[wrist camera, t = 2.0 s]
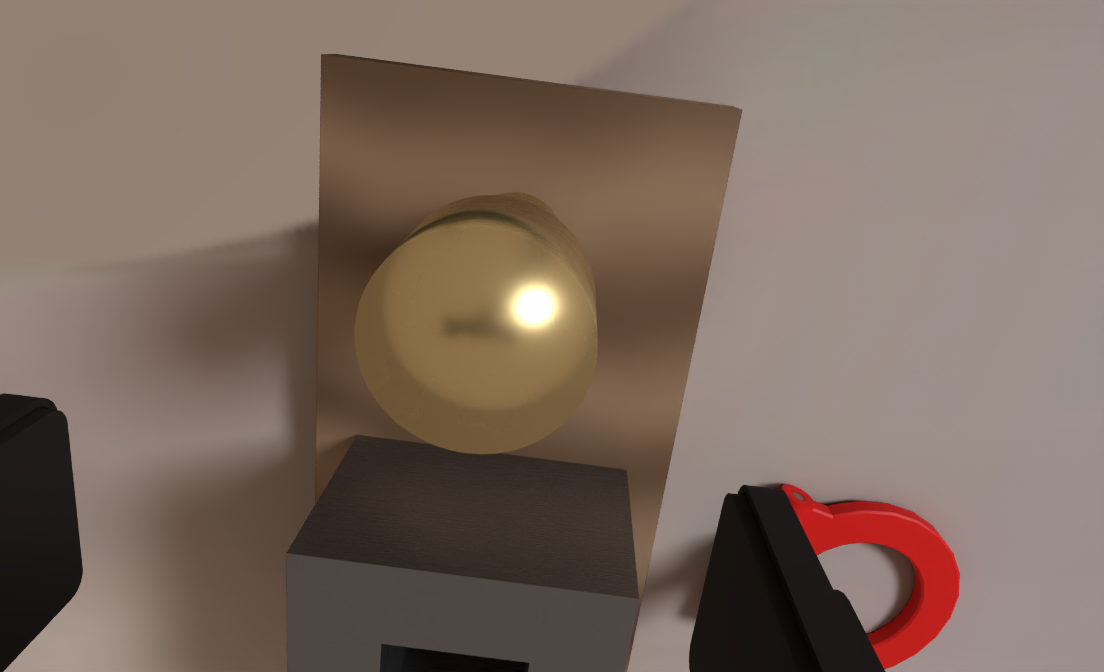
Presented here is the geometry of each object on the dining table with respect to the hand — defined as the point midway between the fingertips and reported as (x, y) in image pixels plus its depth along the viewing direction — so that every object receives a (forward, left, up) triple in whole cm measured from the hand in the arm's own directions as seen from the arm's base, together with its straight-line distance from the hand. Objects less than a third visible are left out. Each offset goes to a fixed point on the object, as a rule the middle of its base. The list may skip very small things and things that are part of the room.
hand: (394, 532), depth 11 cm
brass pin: (-1, 0, -16) cm, 16 cm away
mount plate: (+7, 0, -17) cm, 18 cm away
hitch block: (+12, 0, -16) cm, 20 cm away
